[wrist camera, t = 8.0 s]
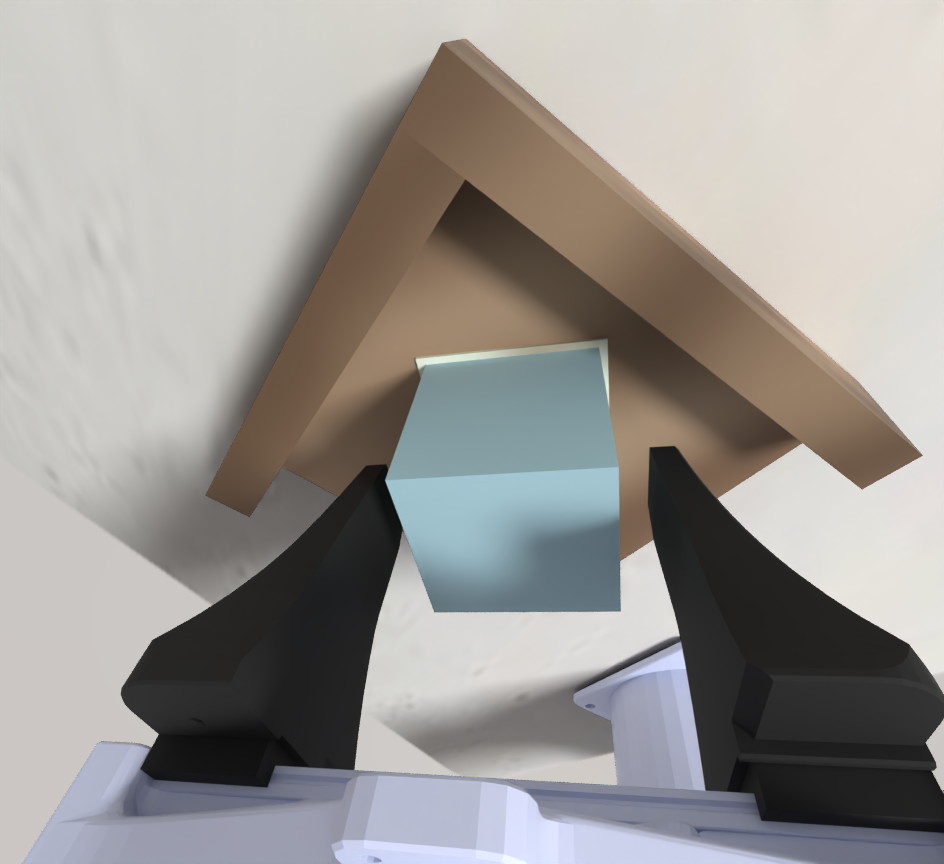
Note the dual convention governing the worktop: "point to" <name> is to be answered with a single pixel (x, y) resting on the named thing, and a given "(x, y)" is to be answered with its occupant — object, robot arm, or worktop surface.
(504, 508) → the cube
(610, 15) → the worktop surface
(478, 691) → the worktop surface
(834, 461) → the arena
